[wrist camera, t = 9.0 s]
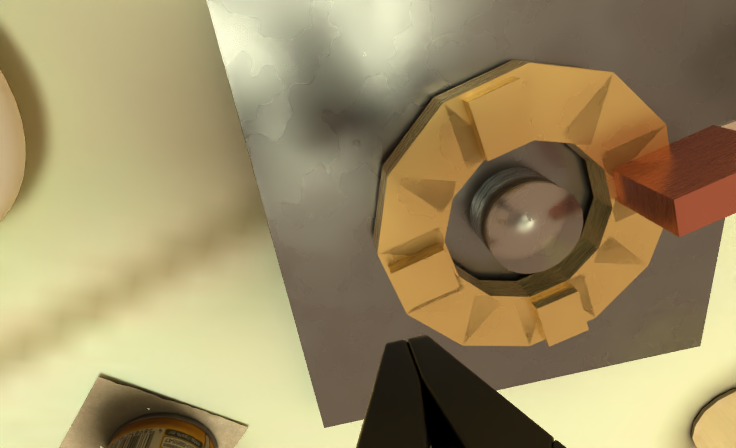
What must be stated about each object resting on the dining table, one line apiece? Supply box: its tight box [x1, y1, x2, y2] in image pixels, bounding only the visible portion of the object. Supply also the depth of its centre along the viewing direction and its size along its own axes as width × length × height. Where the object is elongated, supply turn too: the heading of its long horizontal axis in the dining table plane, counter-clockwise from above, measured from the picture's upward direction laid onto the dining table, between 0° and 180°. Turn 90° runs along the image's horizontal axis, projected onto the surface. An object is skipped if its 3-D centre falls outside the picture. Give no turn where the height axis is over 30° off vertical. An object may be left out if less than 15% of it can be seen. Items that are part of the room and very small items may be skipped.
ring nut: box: [373, 60, 736, 347], centre depth 18 cm, size 15×13×5 cm
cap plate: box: [206, 0, 736, 428], centre depth 21 cm, size 22×22×4 cm
